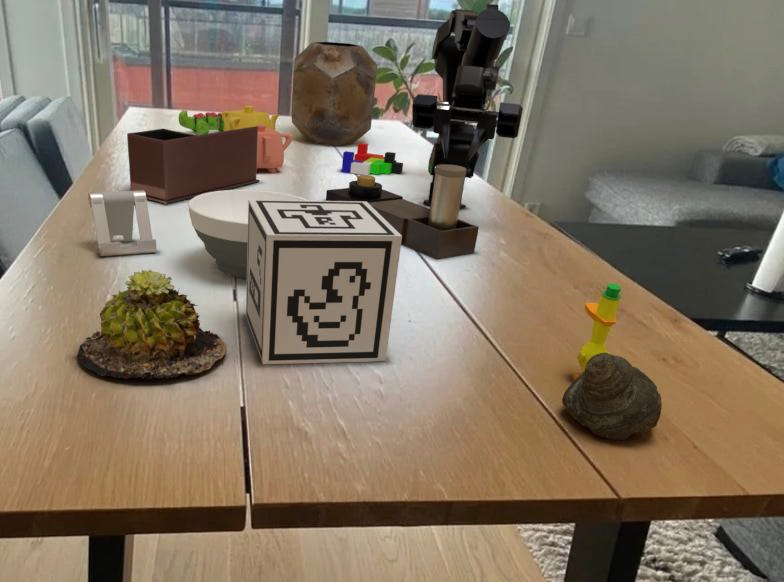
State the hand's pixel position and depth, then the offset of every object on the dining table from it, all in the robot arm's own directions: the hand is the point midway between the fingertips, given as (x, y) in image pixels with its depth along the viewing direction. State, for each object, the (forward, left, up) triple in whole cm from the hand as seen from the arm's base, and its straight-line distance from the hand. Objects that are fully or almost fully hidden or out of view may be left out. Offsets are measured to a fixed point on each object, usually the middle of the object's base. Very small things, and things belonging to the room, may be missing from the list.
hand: (456, 158), depth 133 cm
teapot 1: (-6, -79, -14) cm, 81 cm away
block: (+49, +28, -14) cm, 58 cm away
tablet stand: (+56, -15, -14) cm, 59 cm away
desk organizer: (+26, -48, -14) cm, 56 cm away
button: (0, -24, -10) cm, 26 cm away
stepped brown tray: (+6, -1, -14) cm, 15 cm away
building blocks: (-24, -50, -14) cm, 57 cm away
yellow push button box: (0, -24, -14) cm, 28 cm away
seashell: (+32, +62, -14) cm, 71 cm away
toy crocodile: (-8, -102, -14) cm, 104 cm away
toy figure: (+27, +53, -14) cm, 61 cm away
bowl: (+42, +2, -14) cm, 44 cm away
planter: (-35, -84, -14) cm, 92 cm away
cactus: (+69, +24, -14) cm, 74 cm away
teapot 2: (+3, -59, -14) cm, 61 cm away
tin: (+6, +5, -13) cm, 15 cm away
